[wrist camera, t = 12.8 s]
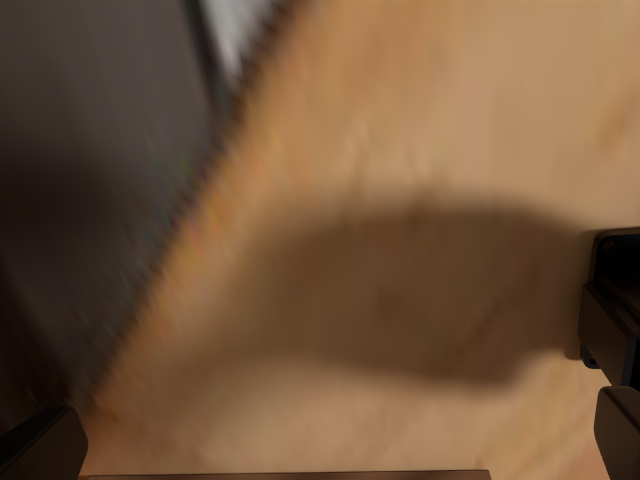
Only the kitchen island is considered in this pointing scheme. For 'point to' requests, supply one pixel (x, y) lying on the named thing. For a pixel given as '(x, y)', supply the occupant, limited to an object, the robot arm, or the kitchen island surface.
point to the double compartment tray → (319, 476)
